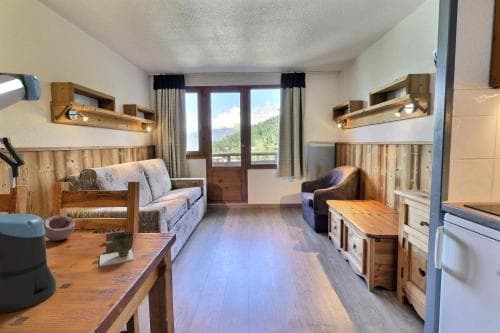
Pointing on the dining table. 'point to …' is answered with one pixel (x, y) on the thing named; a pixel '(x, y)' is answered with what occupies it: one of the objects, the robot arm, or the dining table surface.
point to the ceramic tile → (114, 258)
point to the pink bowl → (58, 227)
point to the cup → (122, 243)
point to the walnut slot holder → (109, 241)
